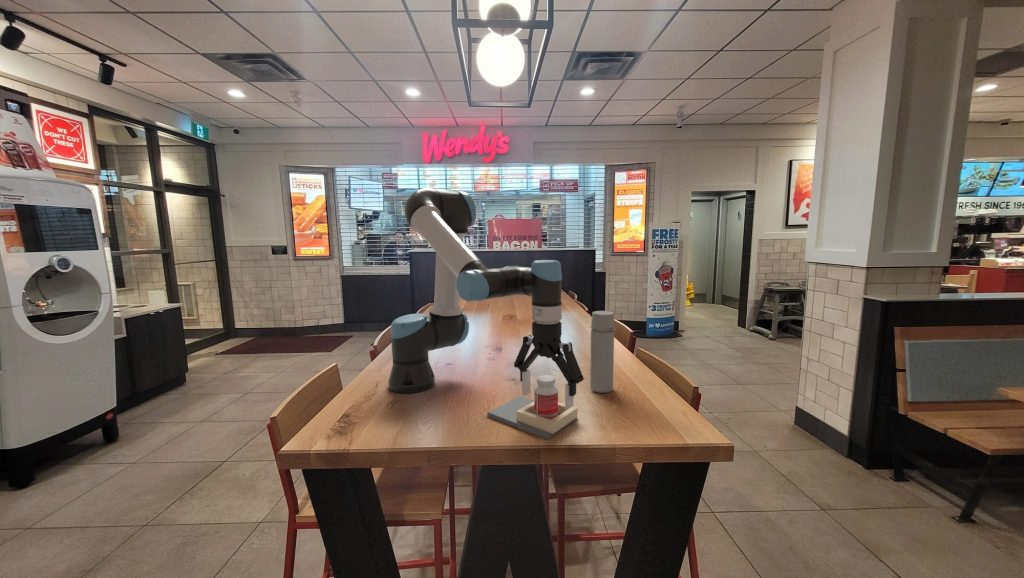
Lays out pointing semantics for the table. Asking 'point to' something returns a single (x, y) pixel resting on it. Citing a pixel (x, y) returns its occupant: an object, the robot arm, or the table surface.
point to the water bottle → (602, 351)
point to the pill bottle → (546, 397)
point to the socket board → (533, 417)
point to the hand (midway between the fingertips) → (547, 400)
